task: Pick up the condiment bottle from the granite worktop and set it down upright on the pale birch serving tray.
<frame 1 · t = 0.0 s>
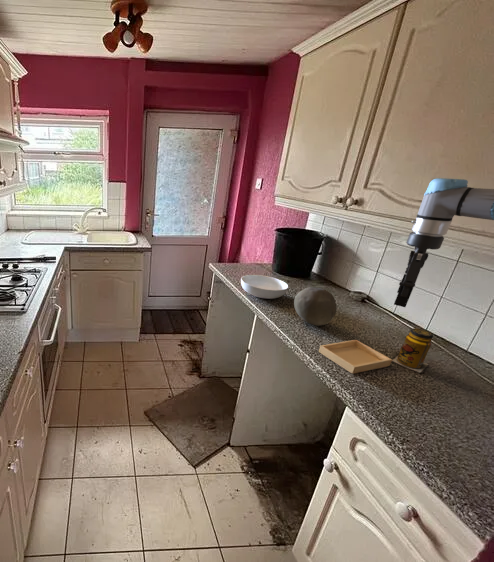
hand: (400, 299, 99), 21 cm above the countertop, tool pointing down, fingers open, 13 cm apart
tray: (352, 358, 103), on the countertop
serving bowl: (261, 295, 152), on the countertop
grey round rock: (309, 323, 126), on the countertop
condiment: (409, 363, 102), on the countertop
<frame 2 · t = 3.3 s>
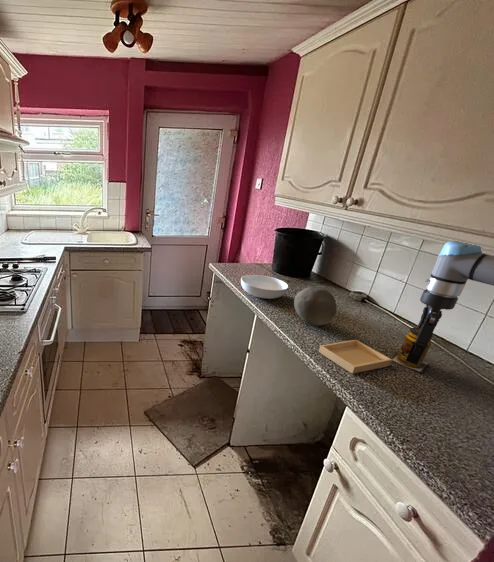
hand: (411, 357, 101), 2 cm above the countertop, tool pointing down, fingers closed on condiment, 6 cm apart
condiment: (409, 362, 103), on the countertop, touching gripper
everything else where it was.
when the fingers open (3 cm above the countertop, at t = 10.9 s): condiment stays where it is, resting on tray.
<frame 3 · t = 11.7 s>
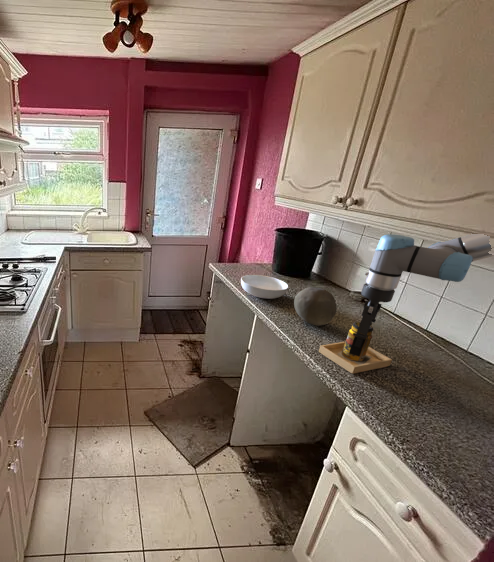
hand: (357, 346, 102), 5 cm above the countertop, tool pointing down, fingers open, 13 cm apart
condiment: (353, 356, 104), resting on tray
everything else where it was.
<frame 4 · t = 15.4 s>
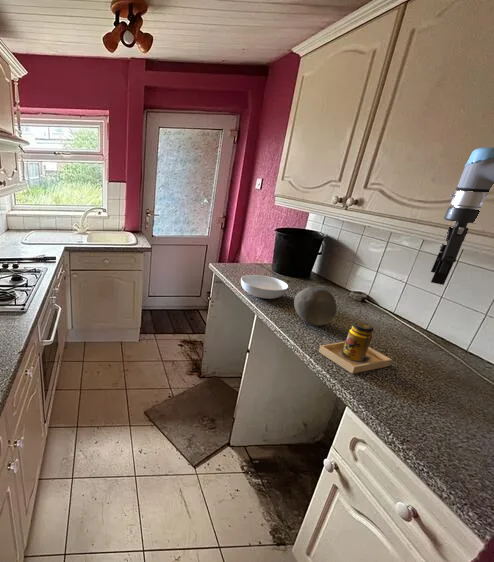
hand: (436, 278, 95), 29 cm above the countertop, tool pointing down, fingers open, 13 cm apart
nothing on the countertop moved.
at the end: condiment inside the target area in the tray (0.8 cm from its centre), point 0.3 cm above the tray's base; condiment tilted 0°; the gripper is holding nothing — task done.
